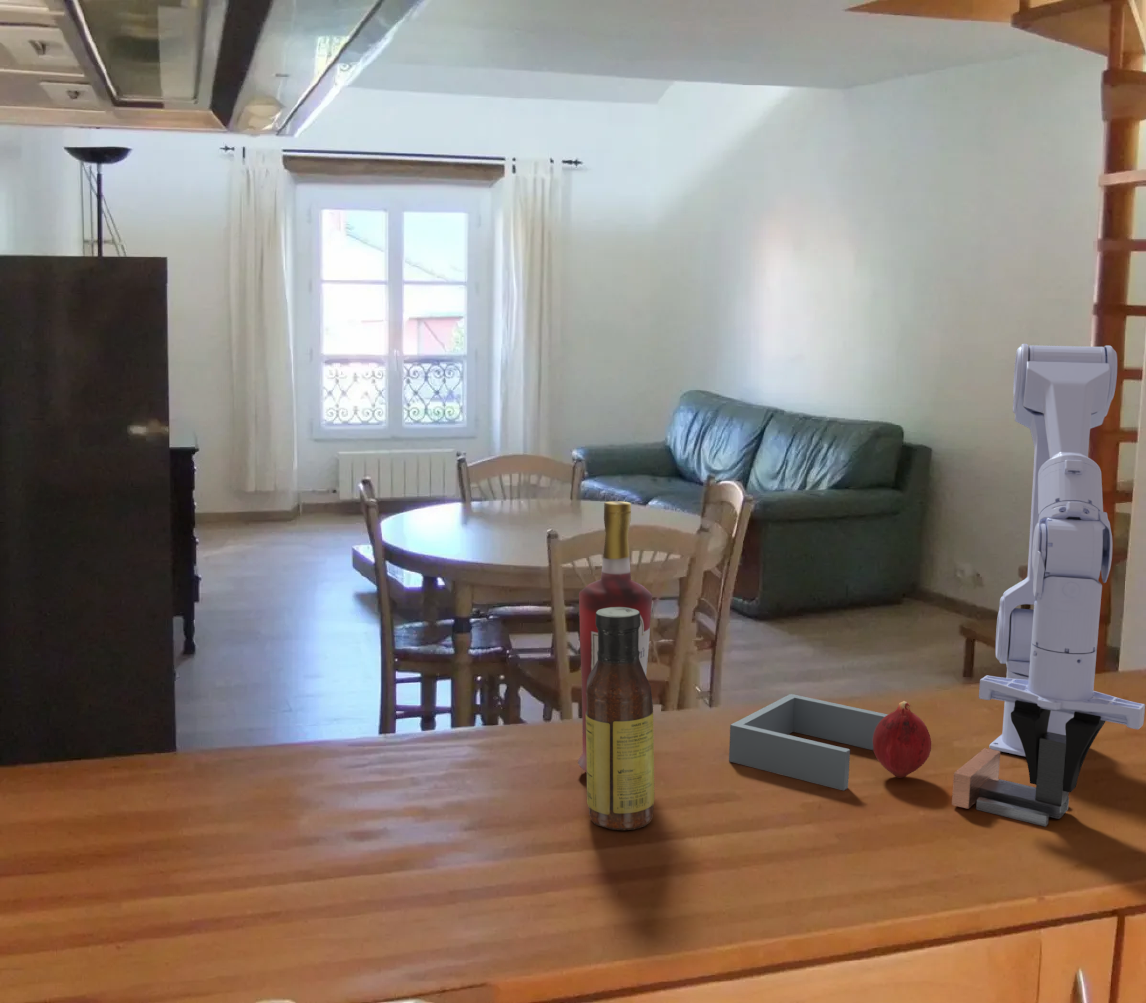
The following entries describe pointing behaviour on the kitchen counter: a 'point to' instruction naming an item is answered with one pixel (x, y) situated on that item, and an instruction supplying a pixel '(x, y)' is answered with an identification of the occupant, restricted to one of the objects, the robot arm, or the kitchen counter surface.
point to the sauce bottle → (619, 726)
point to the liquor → (611, 598)
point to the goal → (775, 751)
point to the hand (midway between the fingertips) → (1052, 785)
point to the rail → (1013, 809)
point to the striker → (983, 782)
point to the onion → (901, 741)
